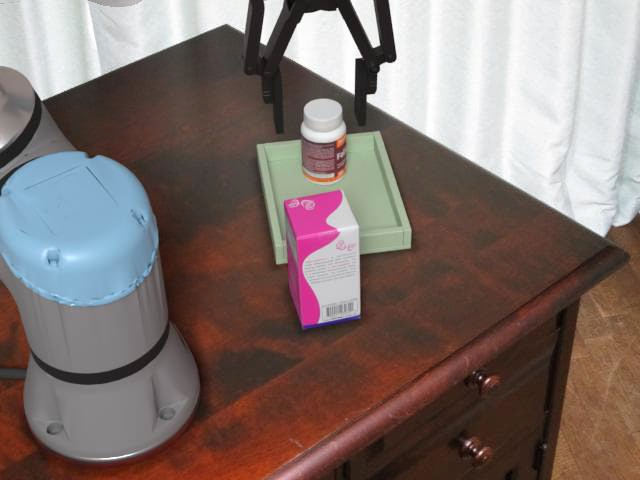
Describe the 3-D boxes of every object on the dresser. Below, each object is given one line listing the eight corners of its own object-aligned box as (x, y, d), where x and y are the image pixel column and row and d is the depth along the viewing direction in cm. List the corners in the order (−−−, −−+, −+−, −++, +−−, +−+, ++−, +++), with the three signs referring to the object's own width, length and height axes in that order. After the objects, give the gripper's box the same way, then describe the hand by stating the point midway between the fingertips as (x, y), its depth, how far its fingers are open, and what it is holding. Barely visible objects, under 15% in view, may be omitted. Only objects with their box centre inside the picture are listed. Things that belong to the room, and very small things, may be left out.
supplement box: (345, 277, 112) (344, 186, 104) (361, 319, 108) (362, 228, 100) (287, 288, 111) (282, 197, 103) (301, 331, 107) (297, 240, 99)
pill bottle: (346, 186, 122) (346, 122, 116) (301, 187, 122) (299, 123, 116) (346, 159, 125) (346, 95, 120) (303, 159, 125) (300, 95, 120)
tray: (276, 264, 114) (275, 246, 112) (257, 162, 126) (256, 144, 124) (411, 248, 115) (411, 229, 113) (379, 148, 127) (379, 130, 126)
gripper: (421, -111, 107) (409, 93, 123) (200, -95, 105) (216, 110, 120) (439, -74, 102) (425, 134, 117) (207, -57, 100) (222, 153, 115)
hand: (319, 122), depth 119 cm, fingers open, 8 cm apart
